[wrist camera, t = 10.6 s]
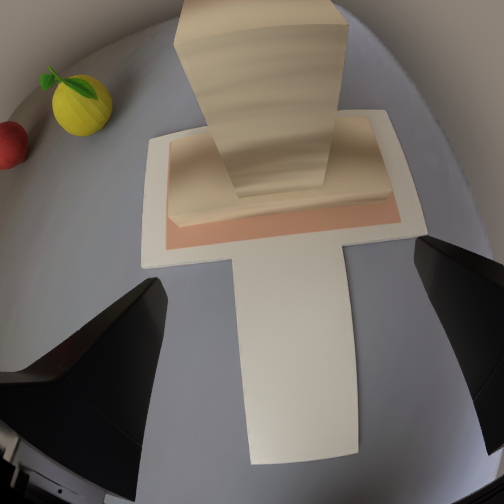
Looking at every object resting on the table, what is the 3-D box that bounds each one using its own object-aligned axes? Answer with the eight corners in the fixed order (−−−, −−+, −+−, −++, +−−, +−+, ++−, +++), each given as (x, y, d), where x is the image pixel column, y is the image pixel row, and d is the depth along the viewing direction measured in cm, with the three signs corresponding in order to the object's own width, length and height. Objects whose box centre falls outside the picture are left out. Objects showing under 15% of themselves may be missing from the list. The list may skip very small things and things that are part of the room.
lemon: (77, 124, 25) (27, 72, 15) (119, 96, 25) (75, 34, 15) (81, 164, 23) (16, 108, 13) (129, 132, 23) (72, 61, 13)
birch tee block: (383, 202, 18) (473, 54, 5) (179, 227, 19) (50, 104, 6) (362, 132, 19) (399, -18, 7) (180, 154, 20) (97, 21, 8)
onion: (17, 151, 26) (-19, 123, 19) (43, 132, 26) (6, 99, 18) (9, 186, 25) (-33, 160, 17) (35, 167, 24) (-9, 135, 17)
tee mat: (439, 425, 14) (443, 428, 13) (163, 455, 16) (159, 458, 15) (383, 114, 20) (385, 109, 19) (152, 143, 22) (149, 138, 21)
